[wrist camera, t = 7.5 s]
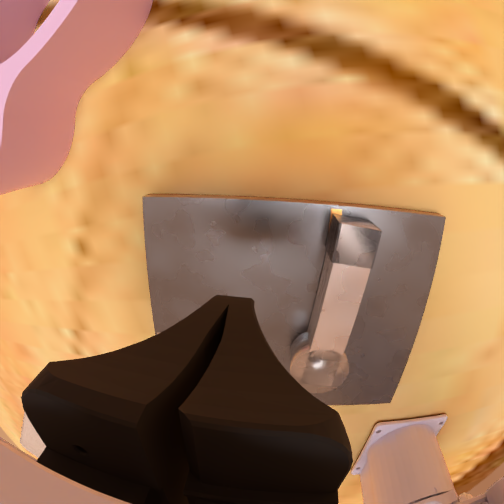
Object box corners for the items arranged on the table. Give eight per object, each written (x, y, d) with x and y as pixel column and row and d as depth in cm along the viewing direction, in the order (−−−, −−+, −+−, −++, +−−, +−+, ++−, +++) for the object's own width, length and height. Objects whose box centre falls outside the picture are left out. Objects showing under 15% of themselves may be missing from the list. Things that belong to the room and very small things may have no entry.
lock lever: (335, 373, 20) (339, 395, 18) (285, 368, 20) (284, 390, 18) (381, 222, 16) (394, 233, 14) (320, 211, 16) (325, 220, 14)
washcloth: (25, 435, 34) (17, 446, 31) (30, 396, 29) (18, 410, 26) (80, 475, 36) (73, 487, 33) (102, 449, 30) (94, 466, 27)
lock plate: (387, 394, 22) (390, 403, 20) (168, 382, 23) (164, 390, 22) (438, 213, 17) (446, 217, 15) (149, 194, 18) (141, 197, 17)
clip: (81, 202, 19) (12, 229, 12) (-12, 155, 18) (-70, 168, 12) (194, -54, 12) (162, -110, 5) (71, -51, 11) (26, -79, 5)
